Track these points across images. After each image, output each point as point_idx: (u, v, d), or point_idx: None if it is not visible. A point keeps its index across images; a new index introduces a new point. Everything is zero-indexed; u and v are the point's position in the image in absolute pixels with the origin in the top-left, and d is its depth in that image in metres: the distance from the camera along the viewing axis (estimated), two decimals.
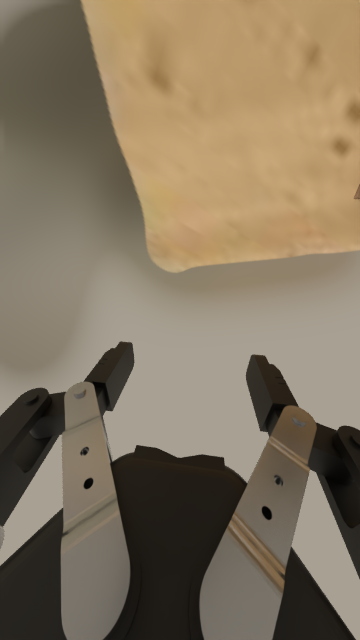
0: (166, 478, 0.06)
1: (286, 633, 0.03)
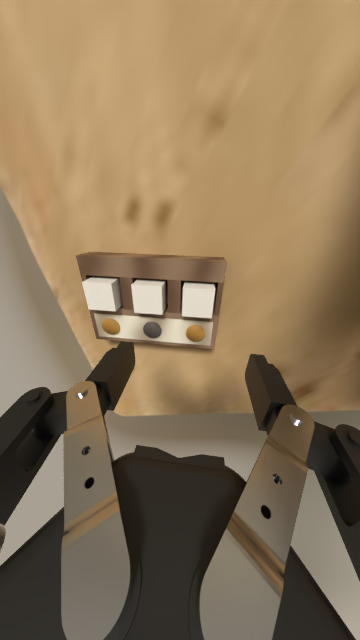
0: (166, 478, 0.05)
1: (286, 633, 0.03)
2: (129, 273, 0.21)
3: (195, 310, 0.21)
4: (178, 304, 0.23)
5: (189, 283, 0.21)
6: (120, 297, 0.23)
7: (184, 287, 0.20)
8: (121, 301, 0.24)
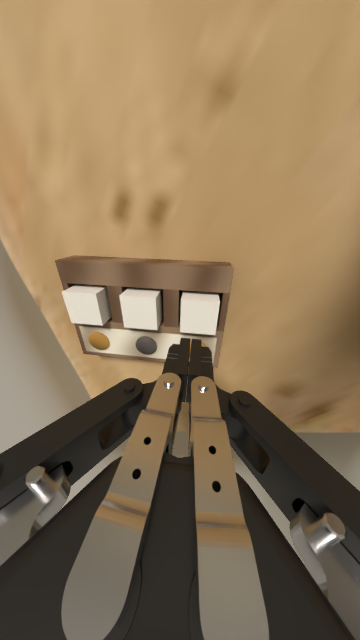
0: (166, 478, 0.05)
1: (286, 633, 0.03)
2: (118, 281, 0.18)
3: (195, 326, 0.18)
4: (176, 317, 0.19)
5: (189, 294, 0.18)
6: (108, 308, 0.20)
7: (182, 299, 0.17)
8: (110, 313, 0.21)
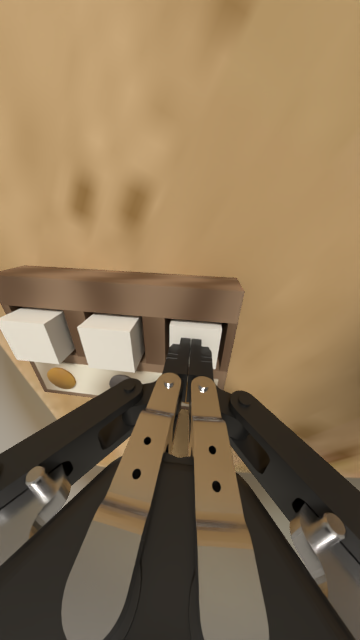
0: (166, 478, 0.06)
1: (286, 633, 0.03)
2: (78, 305, 0.13)
3: (189, 357, 0.13)
4: (162, 353, 0.14)
5: None
6: (71, 338, 0.15)
7: (172, 324, 0.12)
8: (73, 343, 0.15)
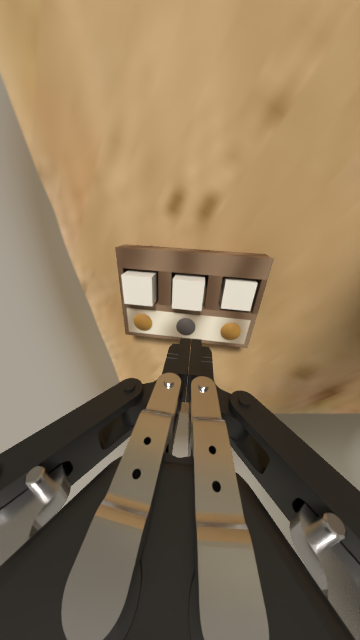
0: (166, 478, 0.05)
1: (286, 633, 0.03)
2: (169, 267, 0.21)
3: (234, 303, 0.22)
4: (216, 301, 0.22)
5: (229, 277, 0.22)
6: (156, 292, 0.23)
7: (227, 280, 0.21)
8: (156, 296, 0.23)
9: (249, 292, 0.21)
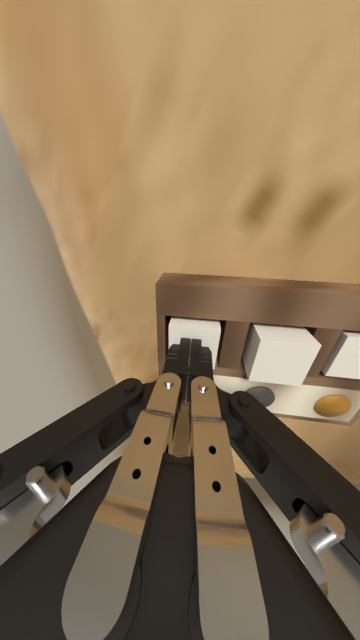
0: (166, 478, 0.05)
1: (286, 633, 0.03)
2: (248, 315, 0.12)
3: (352, 369, 0.13)
4: (320, 365, 0.13)
5: None
6: None
7: (348, 335, 0.12)
8: None
9: None
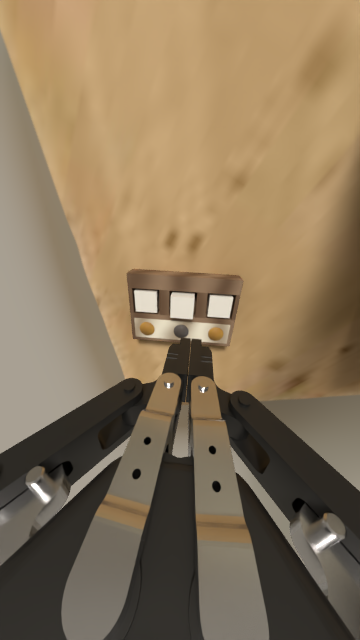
0: (166, 478, 0.05)
1: (286, 633, 0.03)
2: (167, 287, 0.28)
3: (217, 312, 0.29)
4: (204, 311, 0.29)
5: None
6: (158, 302, 0.31)
7: (211, 295, 0.28)
8: None
9: (227, 304, 0.28)
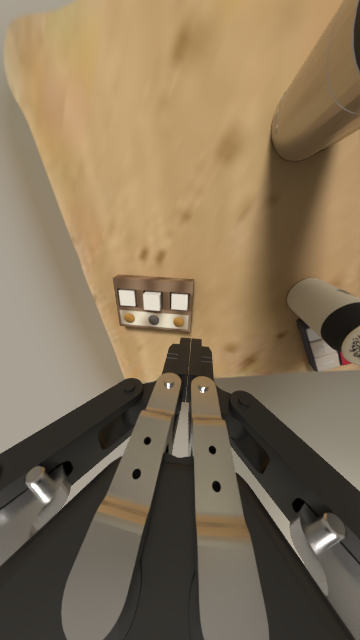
0: (166, 478, 0.06)
1: (286, 633, 0.03)
2: (141, 288, 0.39)
3: (178, 306, 0.40)
4: (168, 305, 0.40)
5: None
6: None
7: (172, 294, 0.39)
8: None
9: (184, 300, 0.39)
